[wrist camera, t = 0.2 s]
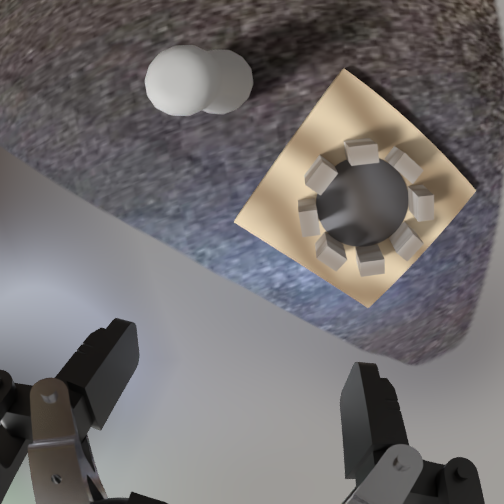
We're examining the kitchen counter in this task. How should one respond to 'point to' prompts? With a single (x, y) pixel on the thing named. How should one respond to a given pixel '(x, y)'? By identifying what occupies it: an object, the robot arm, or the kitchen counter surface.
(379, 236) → the stonehenge model
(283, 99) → the kitchen counter surface
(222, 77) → the salt shaker
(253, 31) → the kitchen counter surface
